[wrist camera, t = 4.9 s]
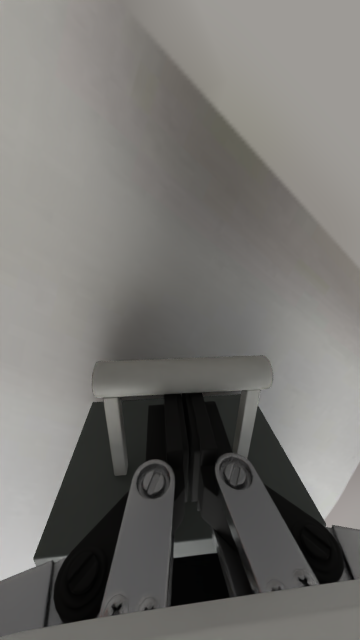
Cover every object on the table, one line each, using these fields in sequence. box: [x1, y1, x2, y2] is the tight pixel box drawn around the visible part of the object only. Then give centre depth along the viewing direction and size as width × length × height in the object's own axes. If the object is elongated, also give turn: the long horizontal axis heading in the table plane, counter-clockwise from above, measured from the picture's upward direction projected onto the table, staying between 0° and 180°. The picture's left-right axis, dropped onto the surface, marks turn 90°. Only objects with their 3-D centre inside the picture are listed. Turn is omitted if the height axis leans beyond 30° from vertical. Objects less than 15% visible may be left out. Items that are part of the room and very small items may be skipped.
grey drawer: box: [33, 355, 326, 607], centre depth 13 cm, size 20×11×8 cm, turn 179°
